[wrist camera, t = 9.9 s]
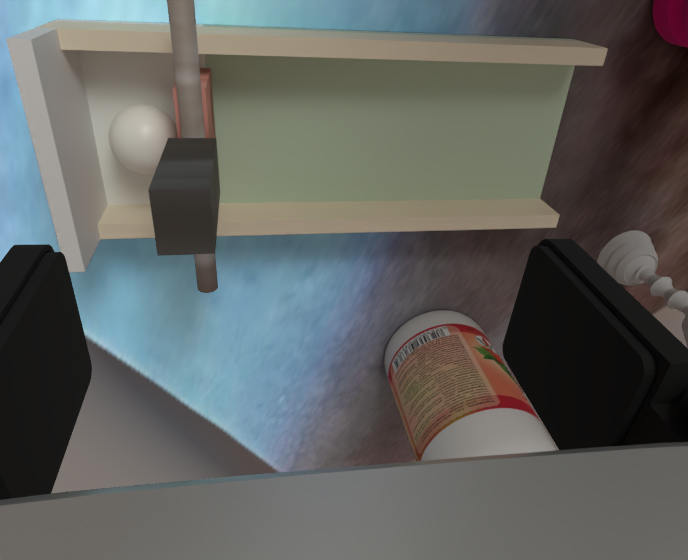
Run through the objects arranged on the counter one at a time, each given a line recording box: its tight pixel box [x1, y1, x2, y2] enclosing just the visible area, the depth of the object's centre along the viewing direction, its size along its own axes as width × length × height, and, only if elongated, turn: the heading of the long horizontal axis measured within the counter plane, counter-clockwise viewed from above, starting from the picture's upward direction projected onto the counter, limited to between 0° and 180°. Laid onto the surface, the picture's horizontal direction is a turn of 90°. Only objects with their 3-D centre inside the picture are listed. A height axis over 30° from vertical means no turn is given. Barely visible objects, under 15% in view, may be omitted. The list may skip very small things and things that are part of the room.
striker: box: [148, 0, 220, 293], centre depth 28 cm, size 16×2×13 cm, turn 177°
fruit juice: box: [384, 310, 557, 461], centre depth 36 cm, size 9×9×28 cm
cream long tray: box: [6, 19, 608, 272], centre depth 33 cm, size 12×32×8 cm, turn 87°
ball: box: [109, 104, 178, 174], centre depth 31 cm, size 4×4×4 cm
